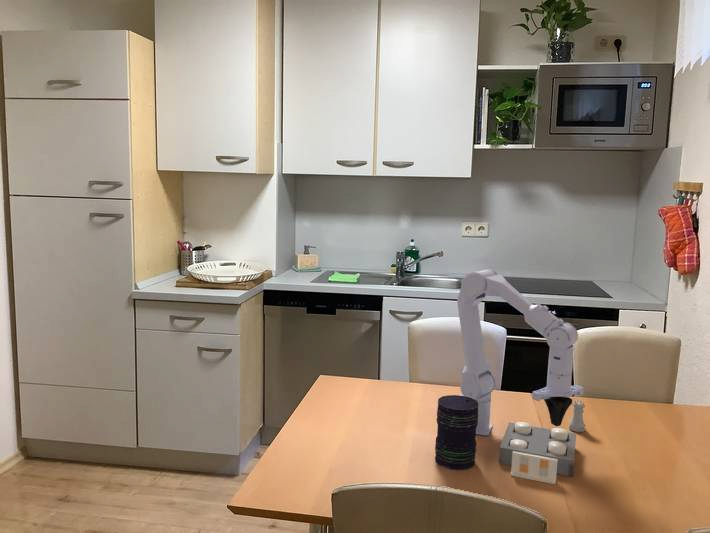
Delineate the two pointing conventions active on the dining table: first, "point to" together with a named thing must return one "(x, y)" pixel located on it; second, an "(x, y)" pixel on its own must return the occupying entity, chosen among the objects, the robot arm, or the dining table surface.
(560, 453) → the button front right
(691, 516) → the dining table surface
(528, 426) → the button back left
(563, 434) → the button back right
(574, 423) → the rook chess piece
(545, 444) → the button board
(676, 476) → the dining table surface
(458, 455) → the storage jar
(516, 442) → the button front left
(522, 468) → the pattern card
